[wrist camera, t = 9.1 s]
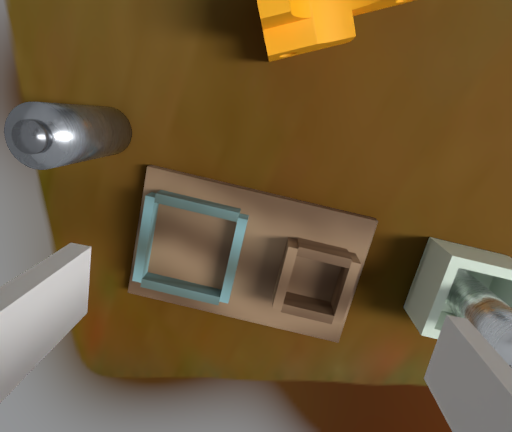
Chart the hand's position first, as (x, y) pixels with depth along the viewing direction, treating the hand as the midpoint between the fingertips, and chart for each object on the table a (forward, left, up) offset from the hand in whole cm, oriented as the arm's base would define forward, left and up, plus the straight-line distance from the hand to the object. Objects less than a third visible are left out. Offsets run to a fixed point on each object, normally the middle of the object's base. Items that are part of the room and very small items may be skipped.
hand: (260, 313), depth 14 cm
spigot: (-2, -15, -20) cm, 25 cm away
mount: (+6, -1, -20) cm, 21 cm away
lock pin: (+4, +17, -19) cm, 26 cm away
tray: (+4, +18, -20) cm, 27 cm away
